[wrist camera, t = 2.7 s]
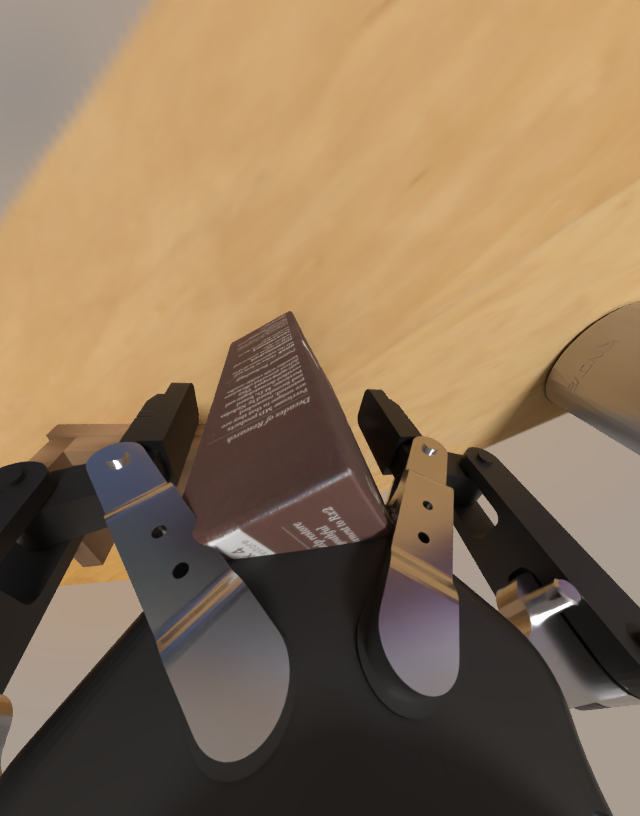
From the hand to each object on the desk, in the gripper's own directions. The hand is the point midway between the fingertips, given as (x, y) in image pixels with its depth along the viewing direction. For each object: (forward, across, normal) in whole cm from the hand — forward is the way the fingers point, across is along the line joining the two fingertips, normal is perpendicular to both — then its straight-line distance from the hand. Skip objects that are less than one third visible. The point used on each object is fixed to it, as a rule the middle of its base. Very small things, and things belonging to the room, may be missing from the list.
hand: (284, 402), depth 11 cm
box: (+5, 0, 0) cm, 5 cm away
